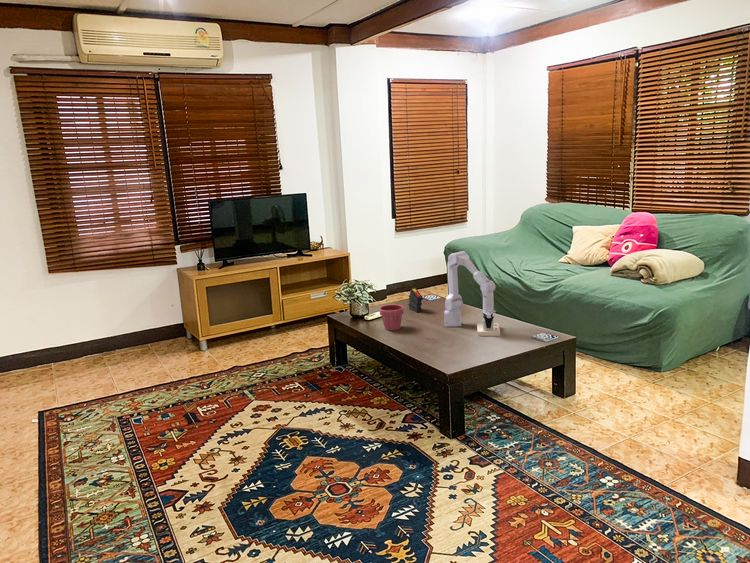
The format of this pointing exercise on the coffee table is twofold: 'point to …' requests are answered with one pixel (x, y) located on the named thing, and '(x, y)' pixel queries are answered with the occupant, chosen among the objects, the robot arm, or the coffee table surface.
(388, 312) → the plant pot
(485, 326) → the plug
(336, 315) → the coffee table surface
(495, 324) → the socket board
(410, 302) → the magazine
